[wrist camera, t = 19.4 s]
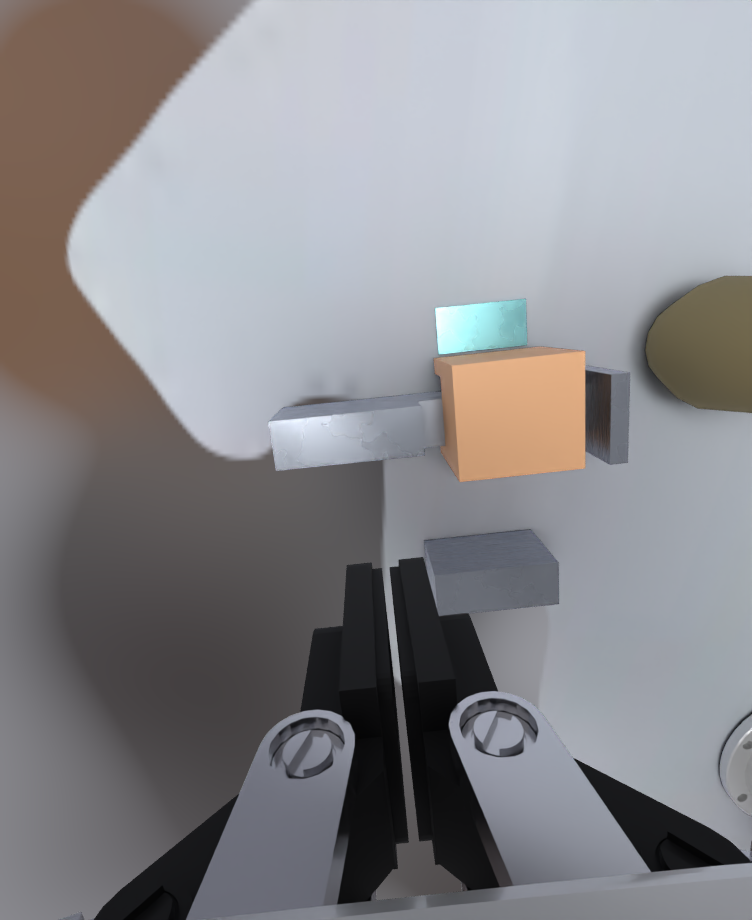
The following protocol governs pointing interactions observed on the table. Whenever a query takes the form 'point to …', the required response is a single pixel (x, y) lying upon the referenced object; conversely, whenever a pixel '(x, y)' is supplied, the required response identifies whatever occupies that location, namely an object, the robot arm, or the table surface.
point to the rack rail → (438, 404)
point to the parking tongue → (491, 572)
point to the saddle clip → (513, 412)
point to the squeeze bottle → (707, 345)
